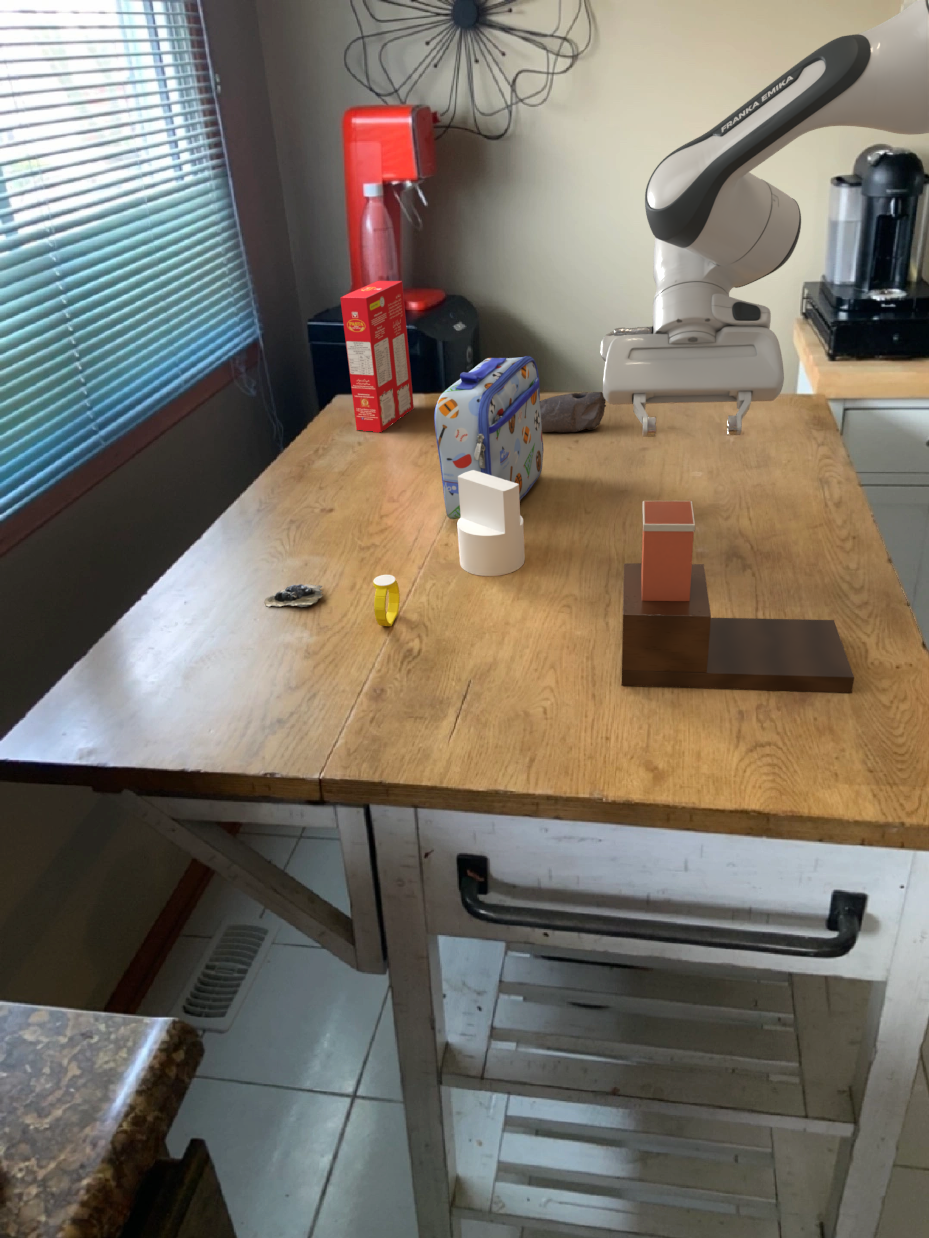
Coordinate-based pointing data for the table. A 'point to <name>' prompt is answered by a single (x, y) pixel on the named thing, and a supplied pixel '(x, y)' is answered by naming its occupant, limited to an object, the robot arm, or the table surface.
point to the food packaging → (378, 354)
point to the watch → (382, 585)
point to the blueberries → (295, 596)
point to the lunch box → (490, 426)
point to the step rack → (724, 646)
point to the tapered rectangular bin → (667, 550)
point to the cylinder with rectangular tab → (489, 525)
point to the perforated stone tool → (572, 412)
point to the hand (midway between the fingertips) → (691, 434)
